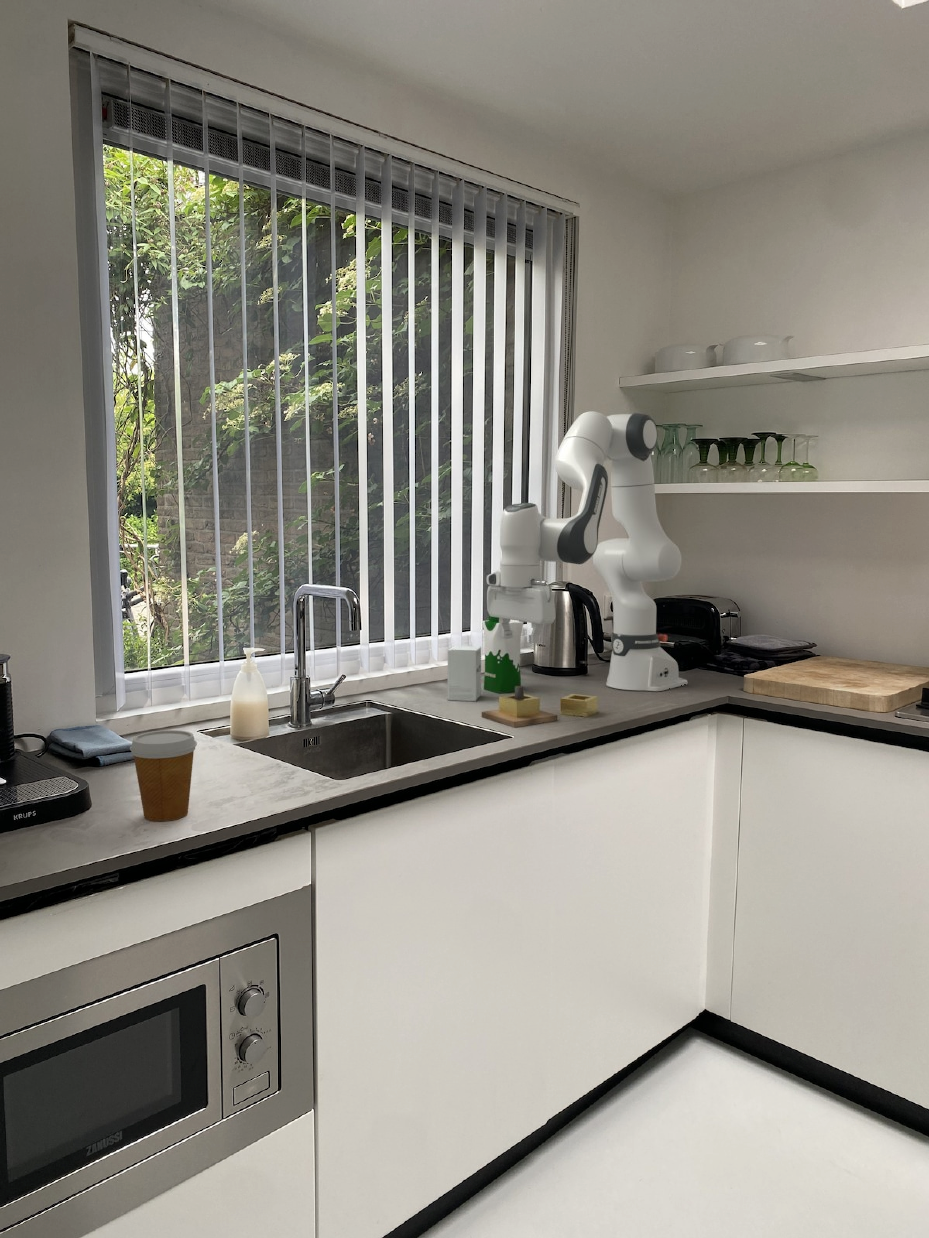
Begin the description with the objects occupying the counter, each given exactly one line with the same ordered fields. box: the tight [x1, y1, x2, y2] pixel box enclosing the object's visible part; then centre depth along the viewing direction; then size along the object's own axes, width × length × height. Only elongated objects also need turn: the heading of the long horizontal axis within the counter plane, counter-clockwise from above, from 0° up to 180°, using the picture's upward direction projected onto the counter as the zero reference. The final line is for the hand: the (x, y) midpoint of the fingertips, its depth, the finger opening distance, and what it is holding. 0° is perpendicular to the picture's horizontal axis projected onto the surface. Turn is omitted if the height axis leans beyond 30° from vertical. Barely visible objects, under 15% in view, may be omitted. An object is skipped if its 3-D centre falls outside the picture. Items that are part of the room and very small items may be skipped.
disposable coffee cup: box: [129, 729, 198, 822], centre depth 136 cm, size 10×10×12 cm
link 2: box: [560, 693, 599, 718], centre depth 207 cm, size 6×6×4 cm
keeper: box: [481, 685, 558, 728], centre depth 201 cm, size 12×12×7 cm
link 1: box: [498, 693, 541, 718], centre depth 201 cm, size 6×6×4 cm
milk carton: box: [481, 614, 524, 694], centre depth 234 cm, size 9×9×20 cm
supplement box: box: [446, 645, 482, 702], centre depth 224 cm, size 7×7×13 cm
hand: (520, 640), depth 200 cm, fingers open, 8 cm apart
